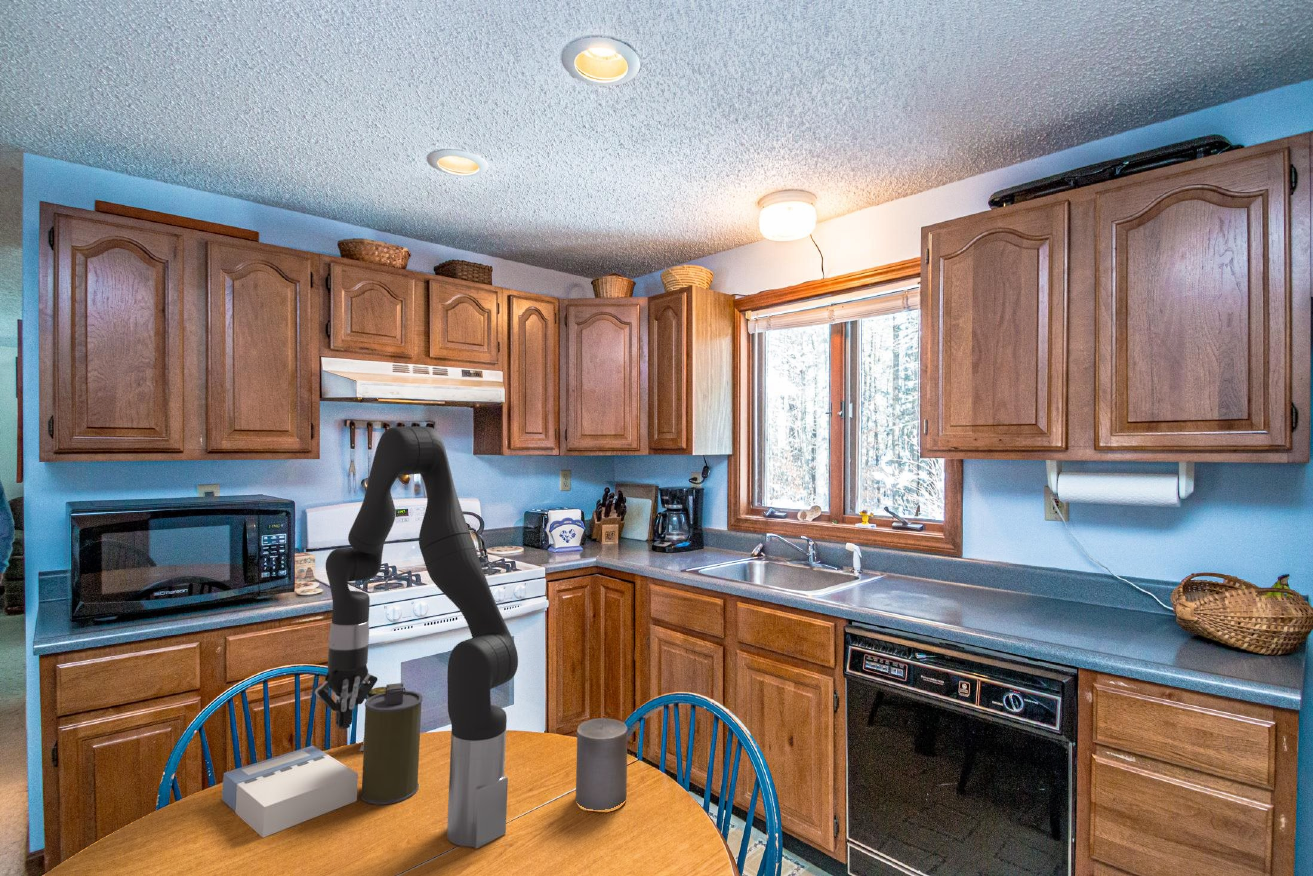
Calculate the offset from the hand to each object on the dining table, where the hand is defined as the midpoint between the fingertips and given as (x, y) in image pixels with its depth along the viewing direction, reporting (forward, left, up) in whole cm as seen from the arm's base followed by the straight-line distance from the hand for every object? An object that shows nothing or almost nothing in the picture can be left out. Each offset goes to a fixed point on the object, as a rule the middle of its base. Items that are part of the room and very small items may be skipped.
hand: (343, 727), depth 134 cm
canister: (-17, -1, -8) cm, 18 cm away
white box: (-10, +13, -8) cm, 18 cm away
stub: (0, +13, -8) cm, 15 cm away
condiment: (+5, -11, -8) cm, 15 cm away
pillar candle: (-50, -25, -8) cm, 56 cm away
